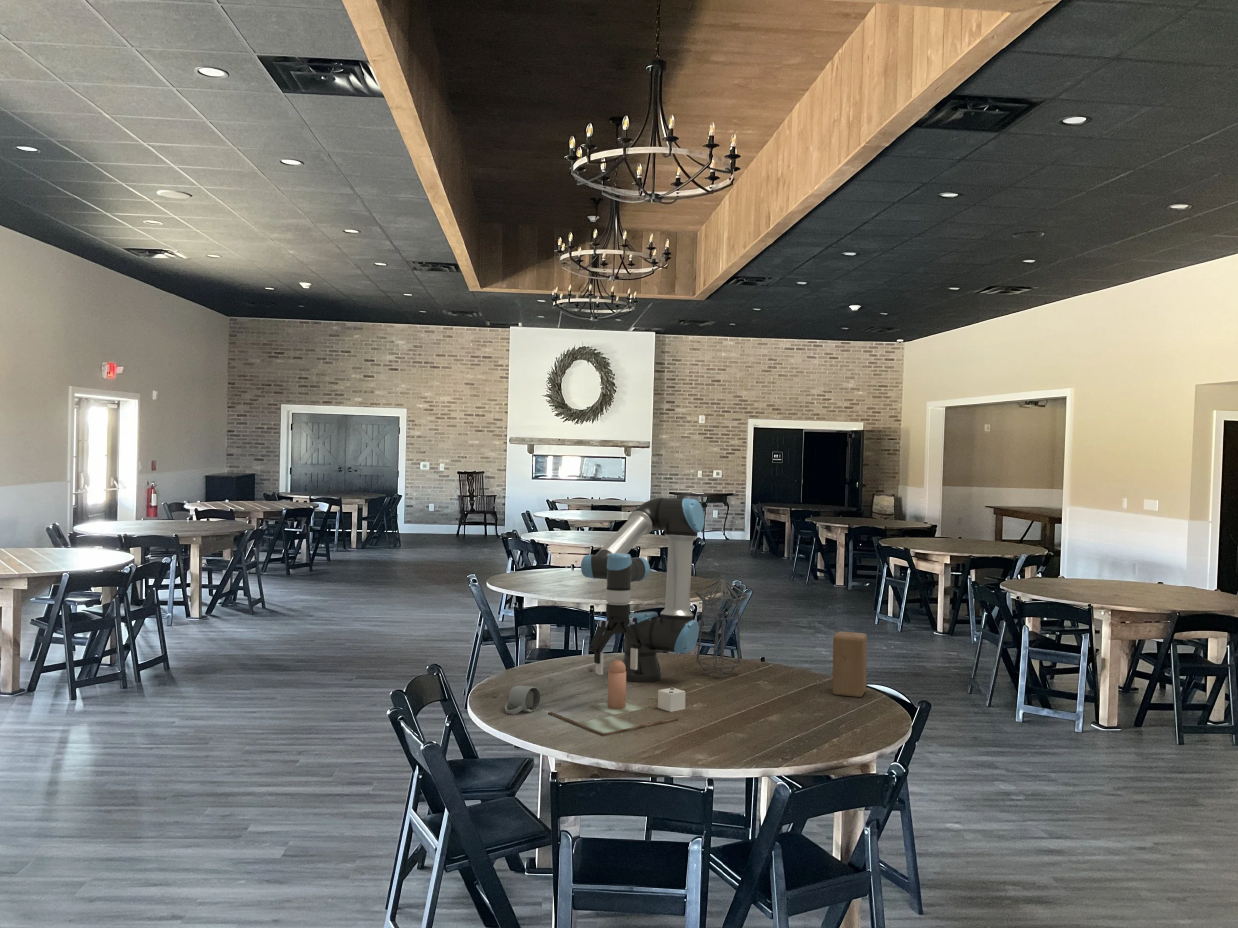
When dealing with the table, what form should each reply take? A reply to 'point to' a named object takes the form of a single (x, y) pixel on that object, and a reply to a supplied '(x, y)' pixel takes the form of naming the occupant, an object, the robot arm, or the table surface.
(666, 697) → the off-white cube
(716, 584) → the geometric lantern
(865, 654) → the wooden block
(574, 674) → the table surface
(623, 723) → the game board
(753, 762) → the table surface
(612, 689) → the pawn
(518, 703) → the ceramic mug
